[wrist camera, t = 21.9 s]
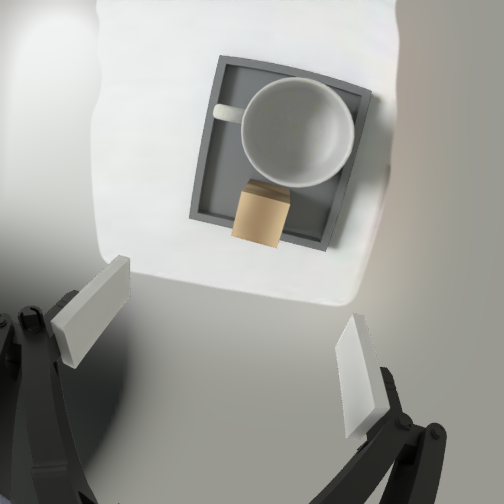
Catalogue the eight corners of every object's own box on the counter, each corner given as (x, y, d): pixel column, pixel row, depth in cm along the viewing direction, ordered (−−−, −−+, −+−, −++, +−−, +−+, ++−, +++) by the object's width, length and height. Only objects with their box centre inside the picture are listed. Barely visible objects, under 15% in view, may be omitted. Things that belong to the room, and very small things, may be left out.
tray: (222, 58, 29) (219, 55, 28) (367, 92, 29) (371, 91, 27) (193, 214, 38) (188, 218, 37) (324, 245, 38) (325, 251, 36)
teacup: (355, 115, 30) (374, 113, 23) (314, 190, 35) (320, 208, 27) (250, 62, 29) (239, 45, 22) (212, 140, 33) (191, 144, 26)
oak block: (241, 215, 37) (231, 235, 31) (250, 178, 35) (241, 191, 29) (278, 225, 37) (276, 248, 31) (289, 189, 35) (290, 204, 29)
